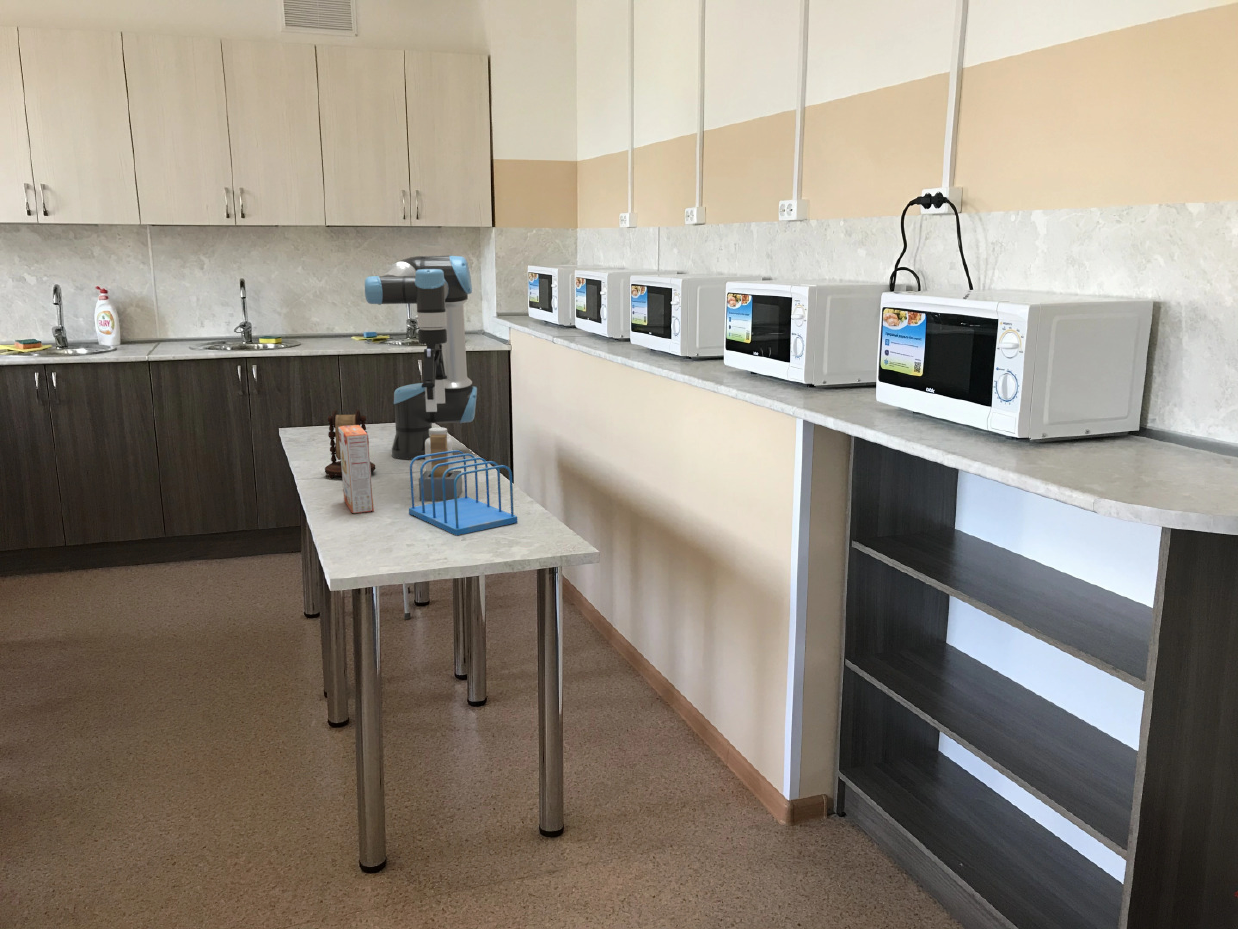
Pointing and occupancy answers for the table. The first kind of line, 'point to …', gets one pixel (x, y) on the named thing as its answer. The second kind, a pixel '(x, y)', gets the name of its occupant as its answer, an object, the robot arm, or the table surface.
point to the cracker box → (356, 468)
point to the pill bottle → (428, 446)
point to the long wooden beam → (437, 446)
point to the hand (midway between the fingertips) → (436, 407)
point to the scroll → (336, 422)
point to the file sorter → (462, 500)
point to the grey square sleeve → (440, 486)
